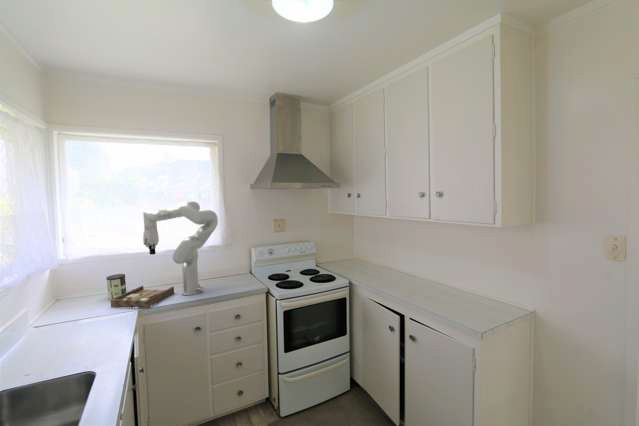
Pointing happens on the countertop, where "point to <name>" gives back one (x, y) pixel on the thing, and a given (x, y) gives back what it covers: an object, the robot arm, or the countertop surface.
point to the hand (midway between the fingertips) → (152, 254)
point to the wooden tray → (141, 298)
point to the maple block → (133, 297)
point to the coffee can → (116, 285)
